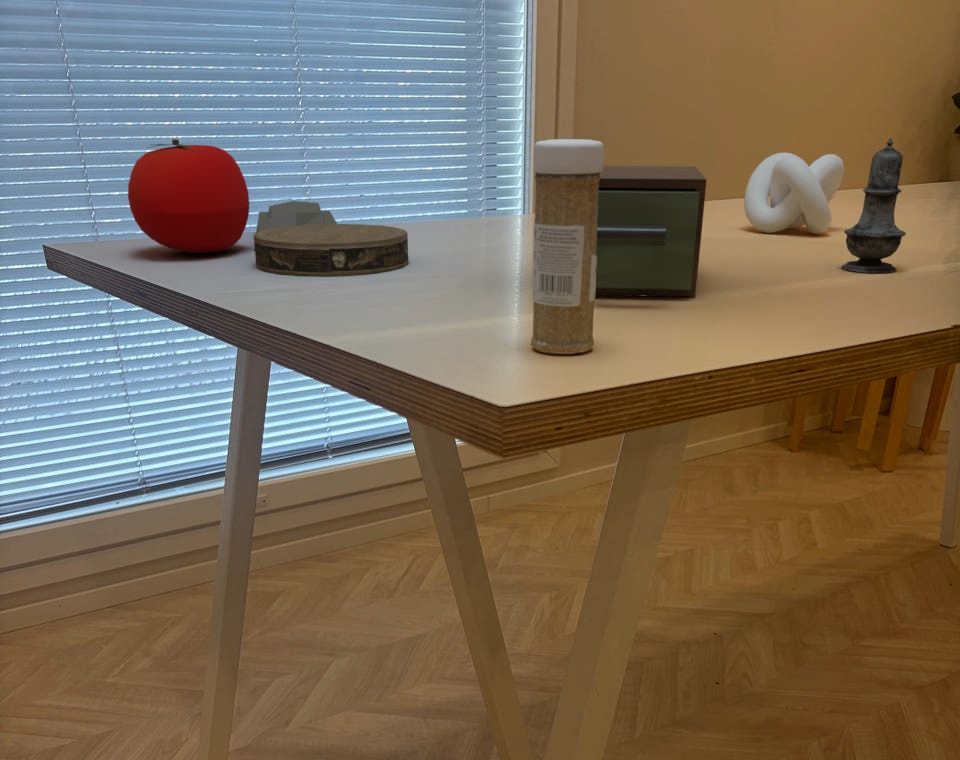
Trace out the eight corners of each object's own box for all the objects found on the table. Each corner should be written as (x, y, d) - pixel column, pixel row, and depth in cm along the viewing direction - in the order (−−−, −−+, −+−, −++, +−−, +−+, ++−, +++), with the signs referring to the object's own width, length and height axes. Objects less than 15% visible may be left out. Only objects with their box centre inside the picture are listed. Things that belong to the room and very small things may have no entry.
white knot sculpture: (730, 234, 128) (738, 155, 124) (751, 224, 138) (760, 150, 133) (823, 239, 124) (835, 157, 120) (838, 228, 133) (850, 152, 129)
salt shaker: (872, 275, 101) (896, 140, 95) (825, 267, 105) (845, 137, 100) (911, 270, 104) (936, 138, 98) (864, 262, 108) (885, 136, 102)
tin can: (247, 256, 112) (244, 227, 111) (388, 249, 117) (387, 221, 115) (267, 279, 99) (263, 246, 98) (425, 271, 103) (425, 239, 102)
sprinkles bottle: (606, 347, 74) (617, 139, 67) (568, 359, 71) (577, 142, 64) (554, 338, 76) (561, 137, 70) (516, 349, 73) (519, 140, 67)
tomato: (280, 251, 115) (270, 138, 110) (173, 266, 107) (156, 143, 101) (218, 241, 123) (205, 135, 117) (112, 254, 114) (94, 140, 109)
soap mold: (254, 250, 116) (250, 217, 114) (256, 229, 133) (253, 199, 132) (345, 248, 118) (343, 215, 116) (336, 227, 135) (334, 198, 133)
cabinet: (695, 297, 91) (706, 179, 86) (553, 294, 92) (556, 177, 88) (686, 271, 104) (696, 166, 99) (561, 268, 105) (565, 165, 100)
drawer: (693, 300, 85) (703, 198, 81) (556, 297, 86) (559, 196, 82) (682, 265, 101) (690, 179, 97) (566, 263, 102) (569, 178, 98)
